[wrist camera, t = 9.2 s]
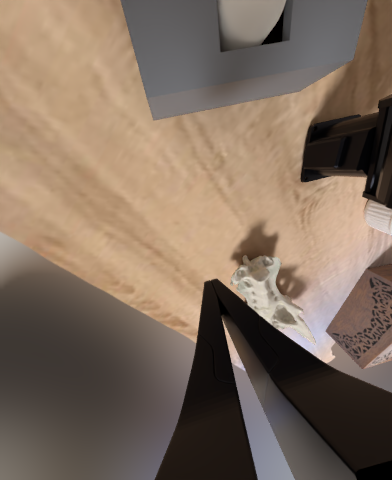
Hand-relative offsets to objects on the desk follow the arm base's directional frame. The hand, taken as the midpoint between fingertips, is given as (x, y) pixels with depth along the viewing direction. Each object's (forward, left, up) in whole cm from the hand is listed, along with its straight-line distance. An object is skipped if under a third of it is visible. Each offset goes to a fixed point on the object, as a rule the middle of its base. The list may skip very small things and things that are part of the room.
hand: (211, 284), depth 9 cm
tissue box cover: (-44, +36, -12) cm, 58 cm away
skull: (-11, +20, -12) cm, 26 cm away
